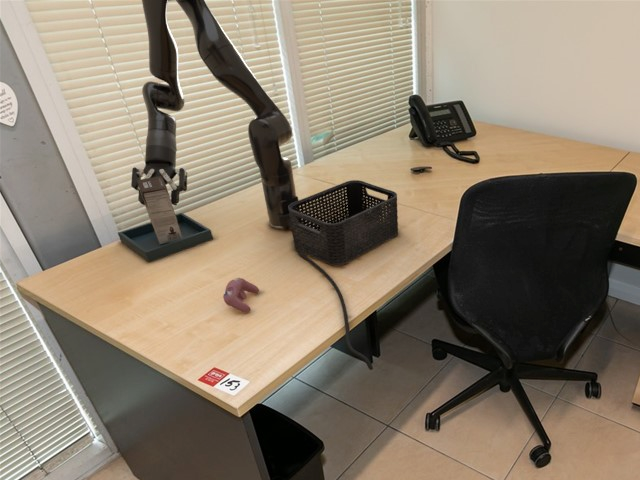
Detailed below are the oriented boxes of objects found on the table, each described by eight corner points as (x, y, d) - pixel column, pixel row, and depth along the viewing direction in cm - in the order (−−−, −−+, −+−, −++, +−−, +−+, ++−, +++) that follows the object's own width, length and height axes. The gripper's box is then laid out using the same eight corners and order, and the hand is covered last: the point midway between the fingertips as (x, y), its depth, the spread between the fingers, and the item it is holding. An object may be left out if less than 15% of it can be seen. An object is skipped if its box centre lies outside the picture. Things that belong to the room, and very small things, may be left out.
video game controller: (246, 296, 133) (228, 276, 129) (261, 289, 132) (243, 269, 128) (236, 319, 125) (216, 298, 121) (251, 312, 124) (232, 291, 120)
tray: (213, 239, 153) (210, 229, 151) (149, 262, 141) (145, 252, 139) (184, 221, 161) (181, 212, 159) (121, 242, 149) (117, 232, 147)
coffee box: (153, 231, 151) (135, 179, 142) (177, 226, 155) (161, 175, 145) (159, 245, 146) (140, 191, 136) (184, 239, 149) (167, 187, 139)
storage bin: (357, 215, 170) (354, 176, 163) (403, 233, 162) (402, 192, 155) (289, 249, 151) (282, 206, 143) (337, 270, 143) (332, 226, 135)
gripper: (127, 143, 144) (124, 199, 141) (181, 144, 146) (179, 199, 143) (141, 155, 151) (138, 208, 149) (192, 155, 153) (190, 208, 151)
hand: (158, 204), depth 146 cm, fingers closed on coffee box, 7 cm apart
